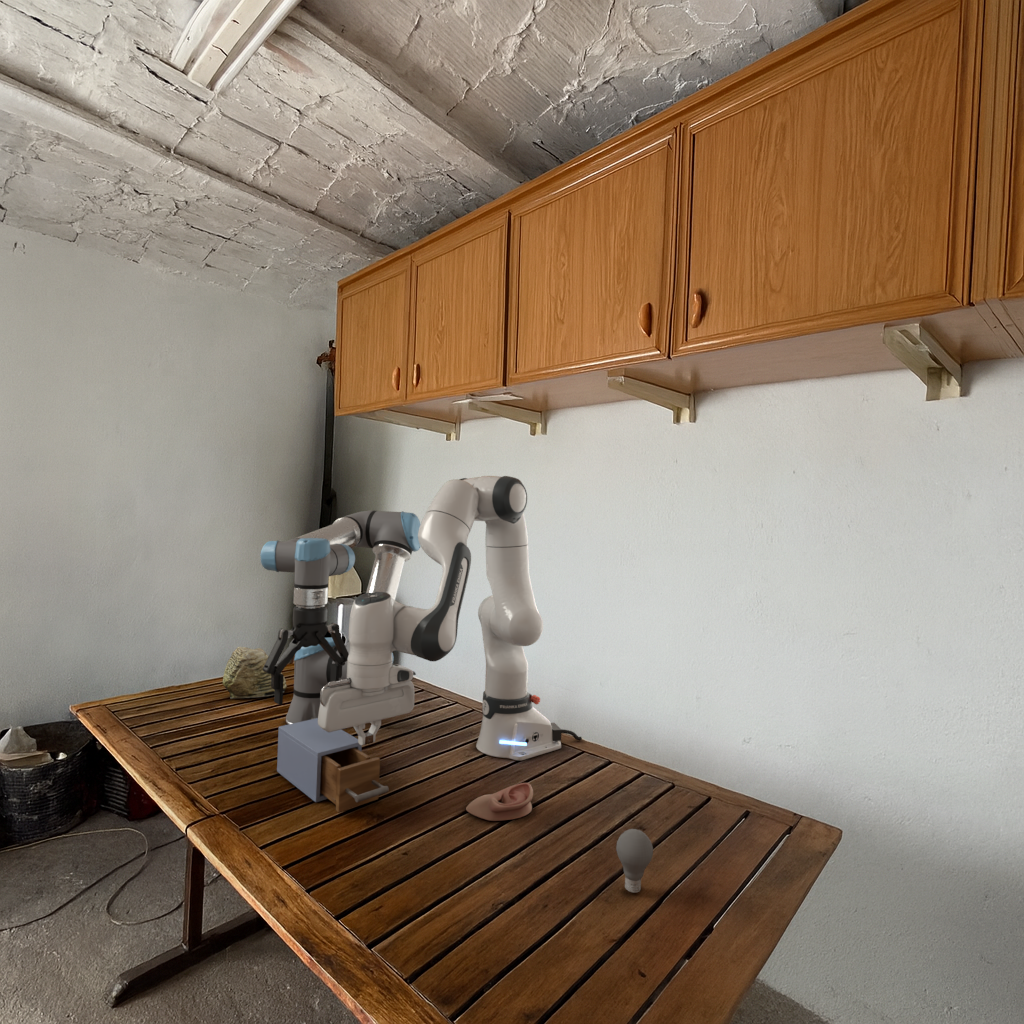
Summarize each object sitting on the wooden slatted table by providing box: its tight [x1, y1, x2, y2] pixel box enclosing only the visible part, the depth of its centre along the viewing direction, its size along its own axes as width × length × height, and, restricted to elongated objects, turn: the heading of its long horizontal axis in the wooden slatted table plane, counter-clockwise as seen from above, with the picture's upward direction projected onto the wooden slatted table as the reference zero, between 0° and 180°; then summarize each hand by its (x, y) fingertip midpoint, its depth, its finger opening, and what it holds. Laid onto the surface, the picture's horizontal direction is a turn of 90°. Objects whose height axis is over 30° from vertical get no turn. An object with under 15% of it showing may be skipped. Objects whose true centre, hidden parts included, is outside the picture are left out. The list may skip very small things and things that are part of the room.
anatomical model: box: [465, 782, 534, 822], centre depth 132 cm, size 13×4×12 cm
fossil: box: [222, 646, 288, 699], centre depth 198 cm, size 9×18×15 cm, turn 132°
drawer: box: [320, 747, 390, 813], centre depth 133 cm, size 23×9×8 cm, turn 44°
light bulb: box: [615, 828, 654, 894], centre depth 106 cm, size 6×6×10 cm
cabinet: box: [276, 718, 363, 803], centre depth 142 cm, size 19×10×10 cm, turn 44°
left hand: (307, 697), depth 146 cm, fingers open, 13 cm apart
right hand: (366, 743), depth 127 cm, fingers closed
